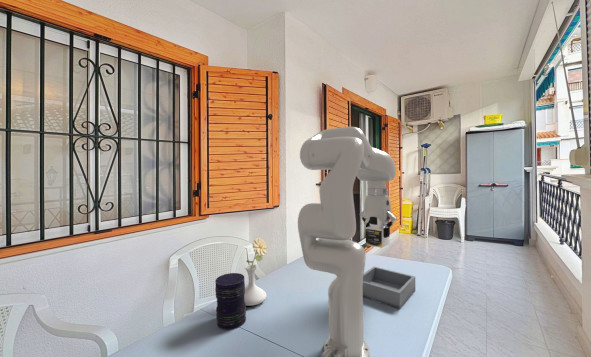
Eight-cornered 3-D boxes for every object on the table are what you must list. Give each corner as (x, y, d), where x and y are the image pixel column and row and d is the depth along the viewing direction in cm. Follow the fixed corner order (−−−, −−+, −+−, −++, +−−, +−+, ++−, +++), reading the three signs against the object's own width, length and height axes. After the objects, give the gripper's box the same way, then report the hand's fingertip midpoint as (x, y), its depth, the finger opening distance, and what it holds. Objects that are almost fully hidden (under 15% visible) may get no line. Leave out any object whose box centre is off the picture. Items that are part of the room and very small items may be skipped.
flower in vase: (246, 312, 94) (244, 244, 93) (232, 300, 103) (230, 238, 102) (275, 300, 102) (273, 237, 101) (260, 290, 111) (258, 232, 110)
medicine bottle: (365, 244, 106) (364, 215, 106) (373, 241, 111) (373, 213, 111) (381, 248, 101) (381, 217, 101) (389, 244, 106) (389, 215, 106)
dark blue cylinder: (211, 329, 85) (209, 284, 84) (223, 312, 94) (222, 272, 94) (240, 331, 83) (238, 285, 83) (250, 314, 93) (248, 273, 92)
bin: (399, 309, 93) (399, 293, 93) (355, 294, 105) (354, 279, 105) (415, 290, 107) (415, 276, 107) (374, 279, 119) (373, 266, 118)
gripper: (401, 192, 101) (402, 237, 101) (364, 190, 114) (364, 230, 115) (391, 194, 96) (392, 241, 97) (353, 192, 109) (354, 233, 110)
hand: (377, 235), depth 106 cm, fingers closed on medicine bottle, 7 cm apart
